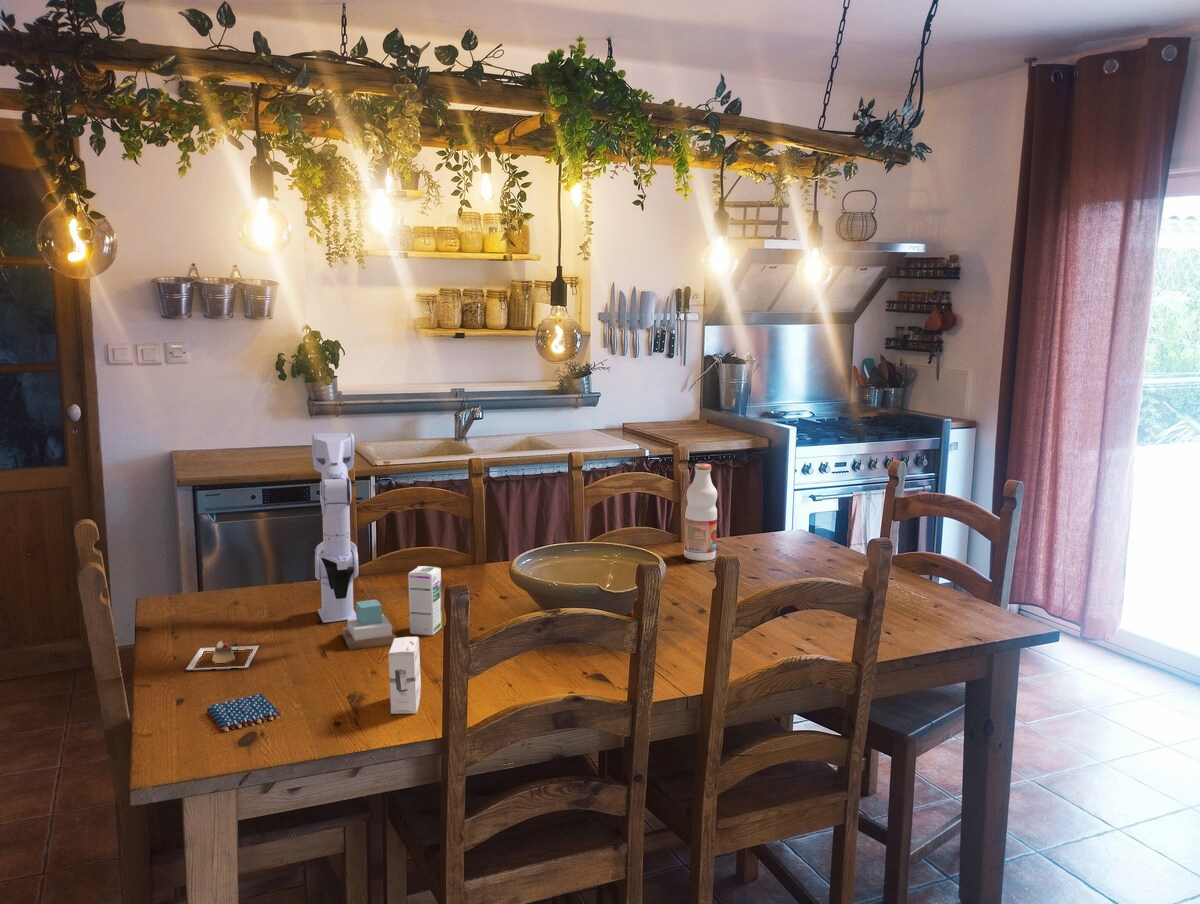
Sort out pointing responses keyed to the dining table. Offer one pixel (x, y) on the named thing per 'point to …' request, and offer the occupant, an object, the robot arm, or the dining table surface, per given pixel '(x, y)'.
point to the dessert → (222, 655)
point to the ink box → (404, 675)
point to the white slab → (369, 629)
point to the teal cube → (368, 612)
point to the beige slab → (366, 640)
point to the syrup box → (425, 600)
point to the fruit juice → (701, 516)
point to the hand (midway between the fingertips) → (338, 593)
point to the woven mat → (242, 712)
